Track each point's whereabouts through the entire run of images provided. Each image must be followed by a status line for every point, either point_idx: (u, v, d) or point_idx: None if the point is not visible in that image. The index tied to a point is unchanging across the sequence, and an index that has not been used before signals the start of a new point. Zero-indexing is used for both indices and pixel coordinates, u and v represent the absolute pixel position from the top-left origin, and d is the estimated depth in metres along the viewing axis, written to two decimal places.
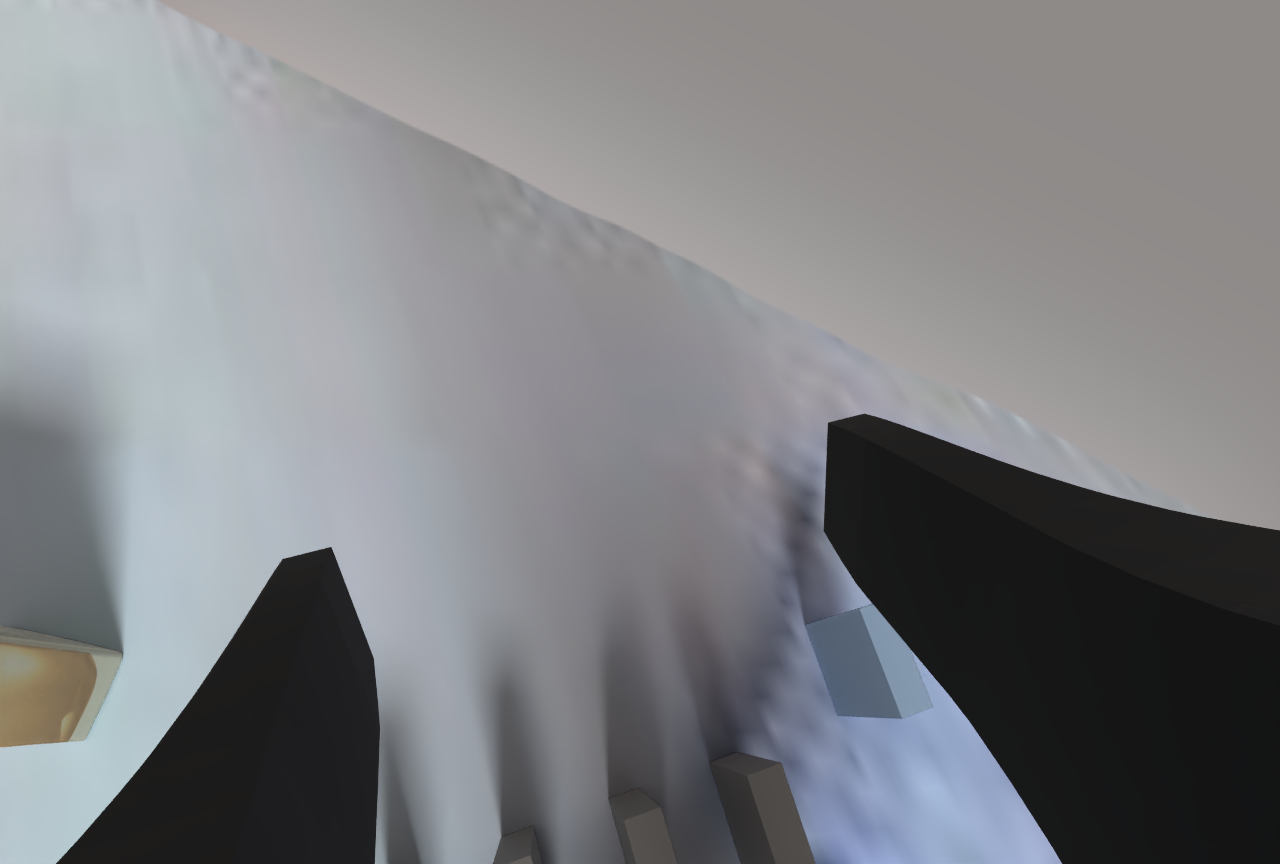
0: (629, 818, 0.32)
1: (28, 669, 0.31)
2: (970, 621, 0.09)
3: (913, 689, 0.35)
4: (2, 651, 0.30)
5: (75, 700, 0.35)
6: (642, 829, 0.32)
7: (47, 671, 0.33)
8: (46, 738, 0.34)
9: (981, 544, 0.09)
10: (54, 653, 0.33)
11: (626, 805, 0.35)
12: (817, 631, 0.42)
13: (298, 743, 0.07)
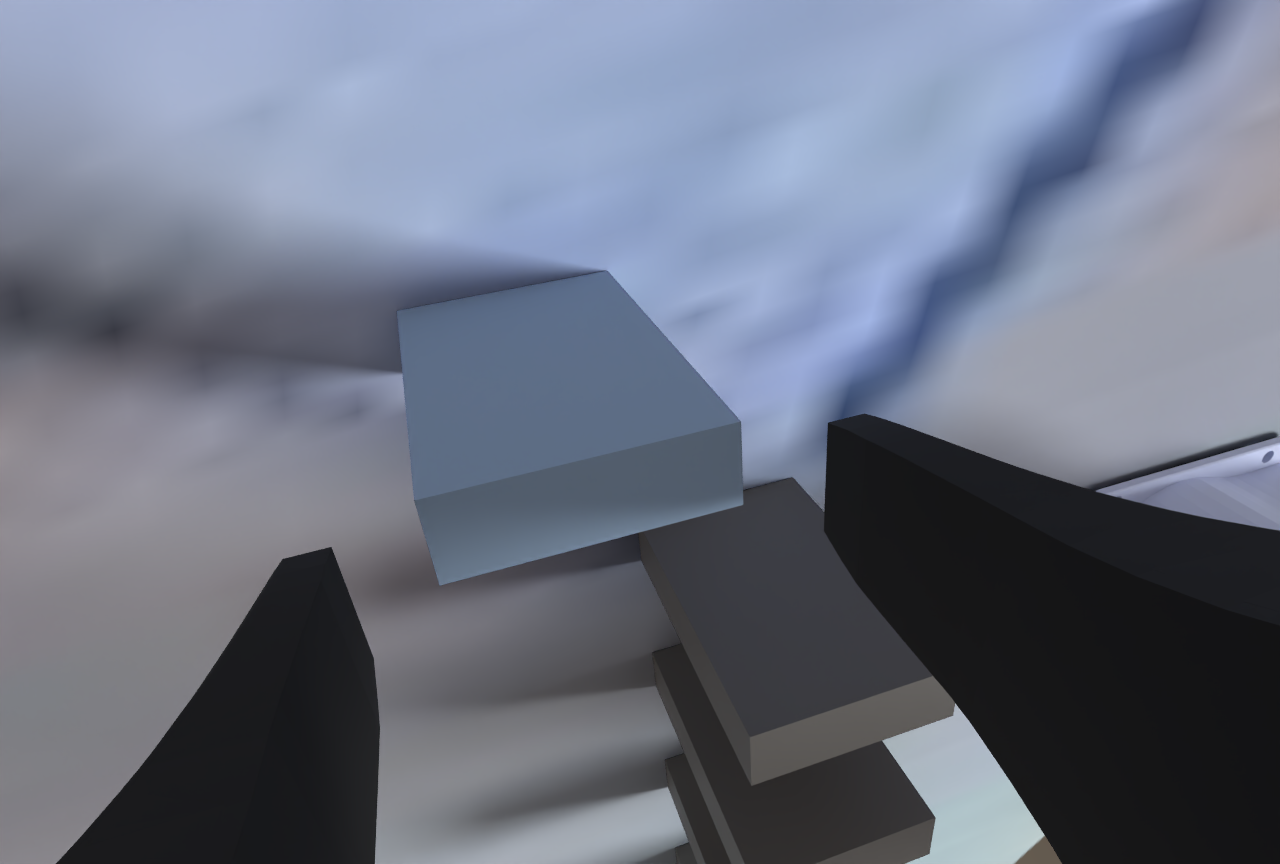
0: None
1: None
2: (970, 621, 0.09)
3: (684, 466, 0.12)
4: None
5: None
6: None
7: None
8: None
9: (981, 544, 0.09)
10: None
11: (702, 787, 0.22)
12: None
13: (299, 743, 0.07)
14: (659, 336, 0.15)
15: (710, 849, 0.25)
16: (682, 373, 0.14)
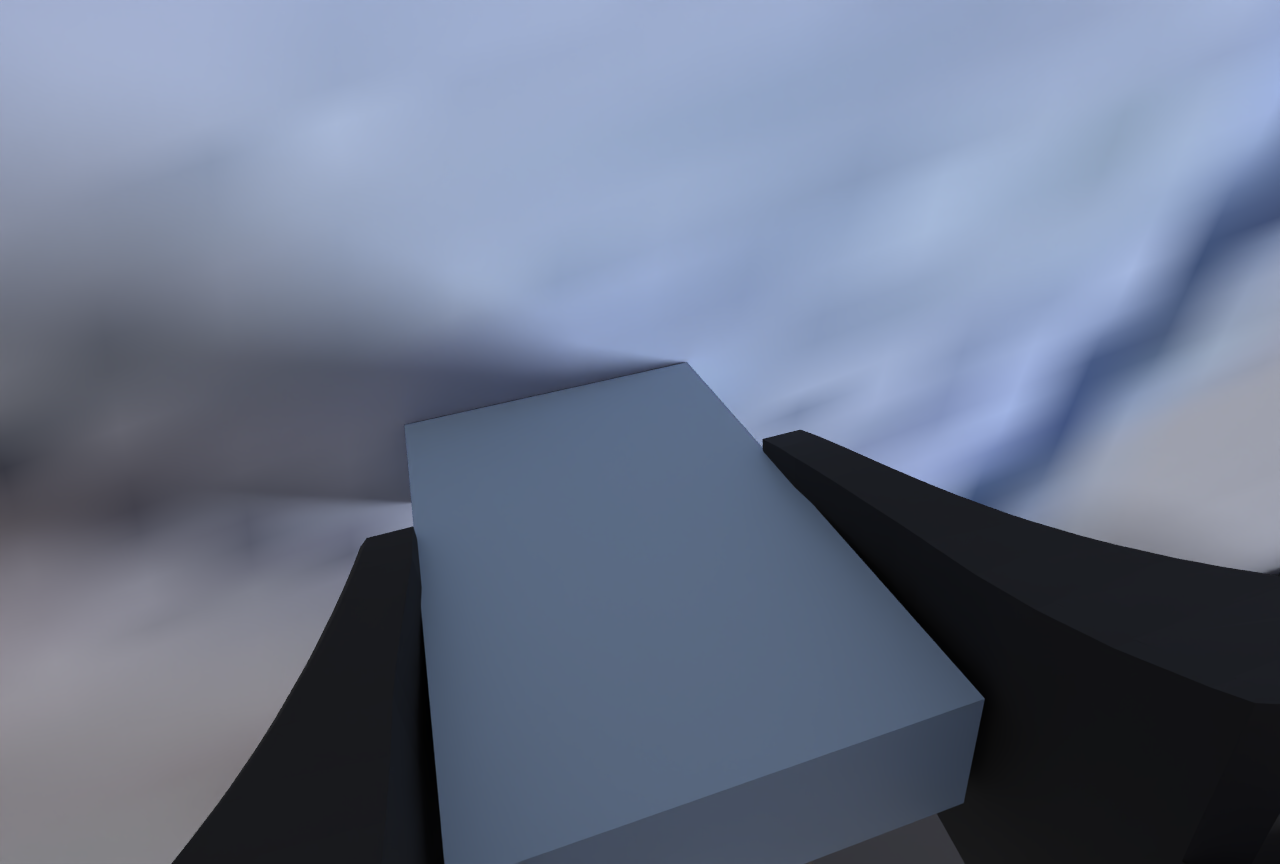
0: None
1: None
2: None
3: (887, 769, 0.07)
4: None
5: None
6: None
7: None
8: None
9: (900, 568, 0.08)
10: None
11: None
12: None
13: (410, 709, 0.07)
14: (792, 491, 0.10)
15: None
16: (849, 574, 0.09)
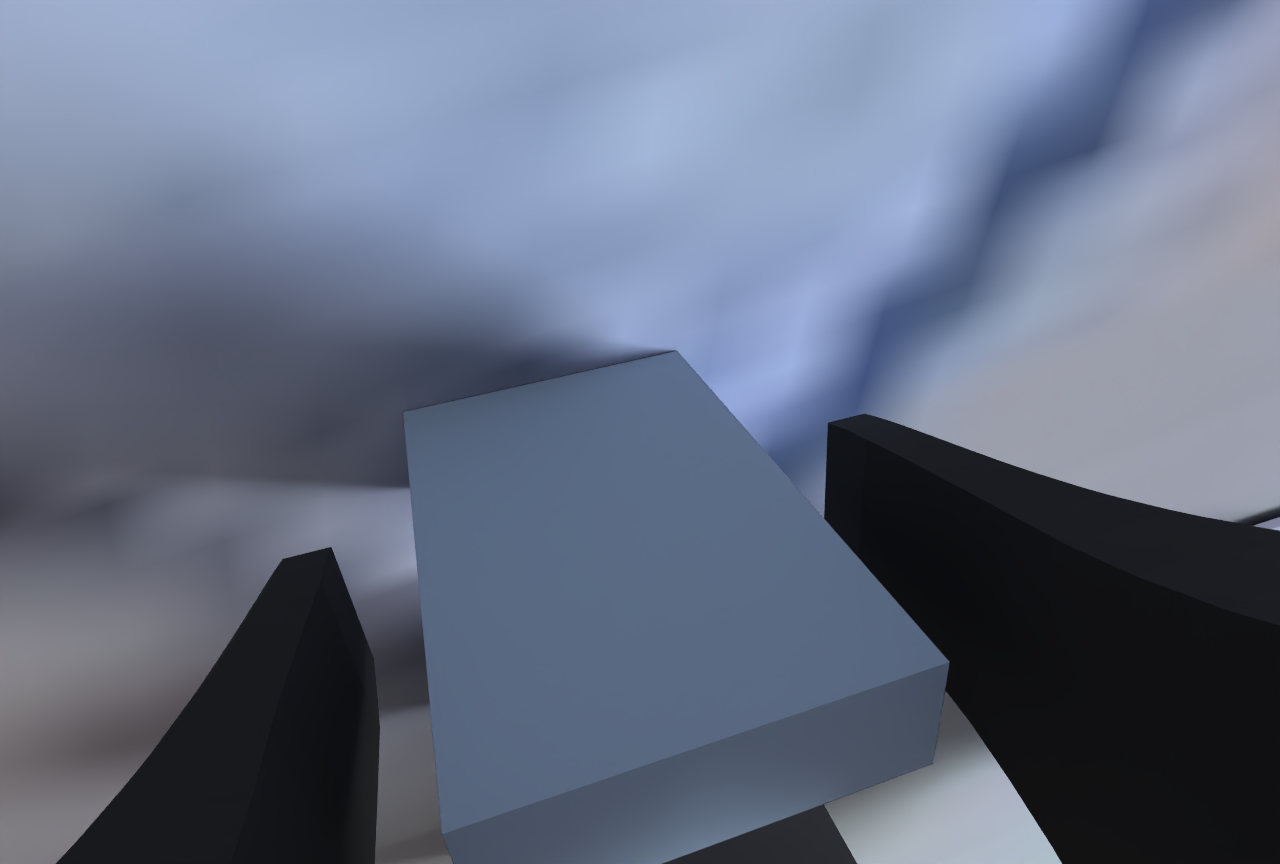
0: None
1: None
2: (970, 621, 0.09)
3: (859, 729, 0.08)
4: None
5: None
6: None
7: None
8: None
9: (981, 544, 0.09)
10: None
11: None
12: None
13: (298, 743, 0.07)
14: (774, 472, 0.11)
15: None
16: (827, 549, 0.09)
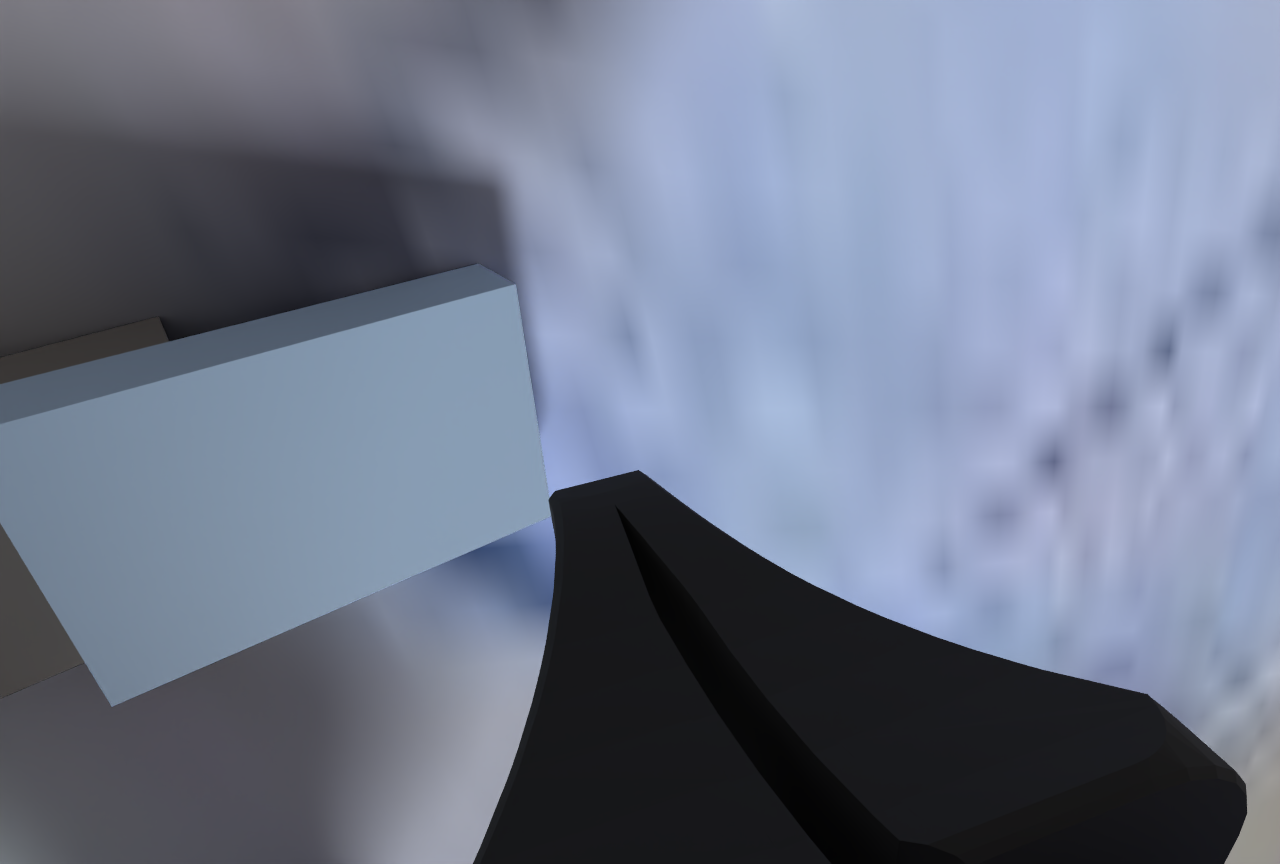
0: None
1: None
2: None
3: None
4: None
5: None
6: None
7: None
8: None
9: (690, 632, 0.08)
10: None
11: None
12: None
13: None
14: (341, 602, 0.14)
15: None
16: (238, 639, 0.13)
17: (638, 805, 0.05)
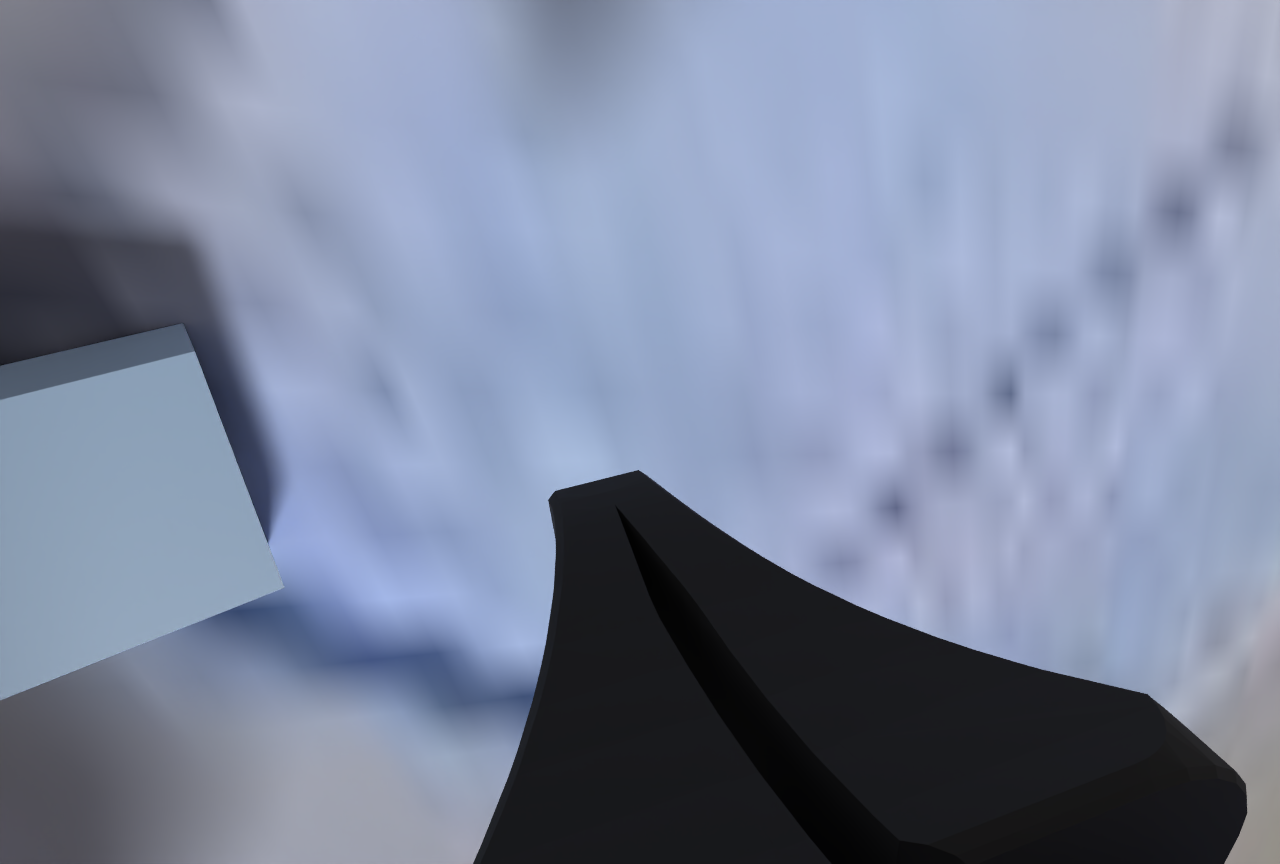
0: None
1: None
2: None
3: None
4: None
5: None
6: None
7: None
8: None
9: (690, 631, 0.08)
10: None
11: None
12: None
13: None
14: (15, 688, 0.13)
15: None
16: None
17: (638, 805, 0.05)
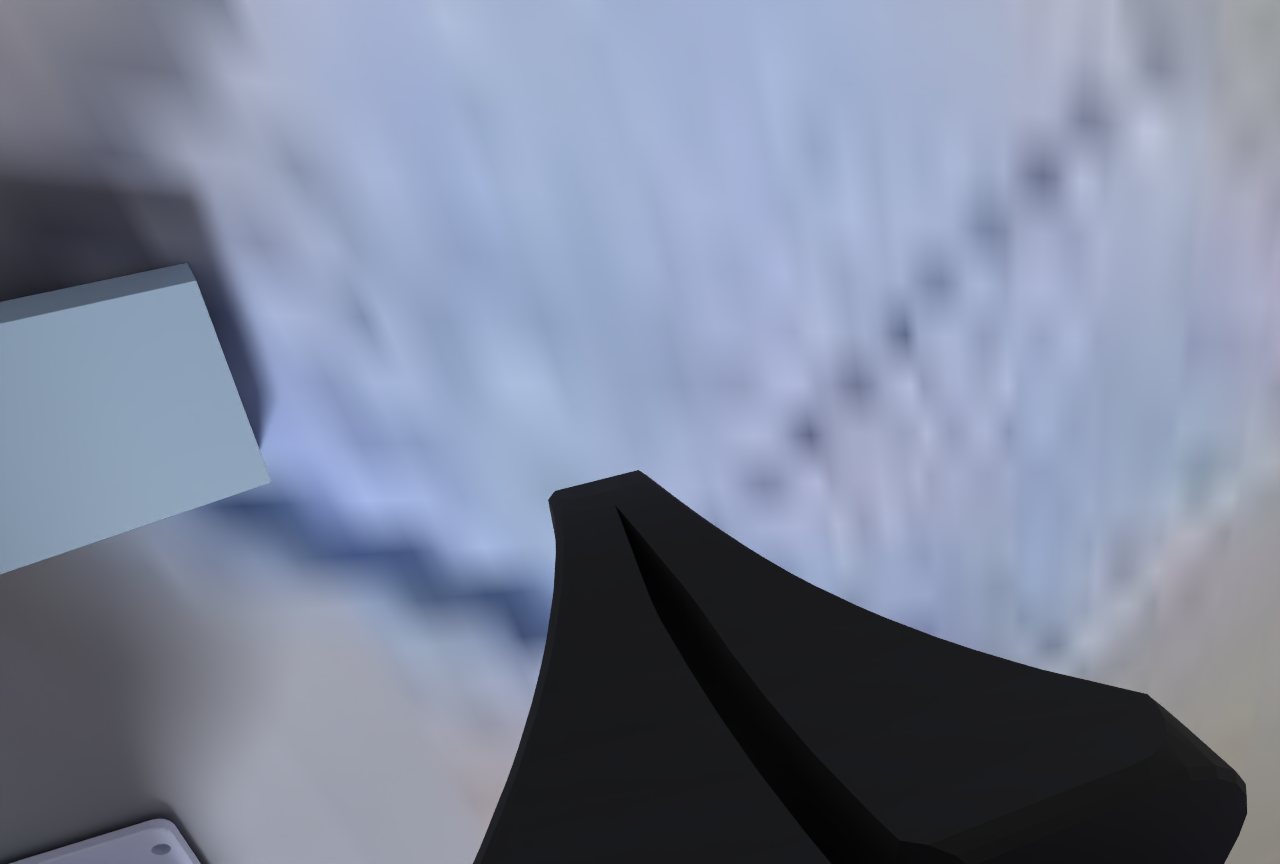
0: None
1: None
2: None
3: None
4: None
5: None
6: None
7: None
8: None
9: (689, 632, 0.08)
10: None
11: None
12: None
13: None
14: (58, 550, 0.16)
15: None
16: None
17: (638, 805, 0.05)
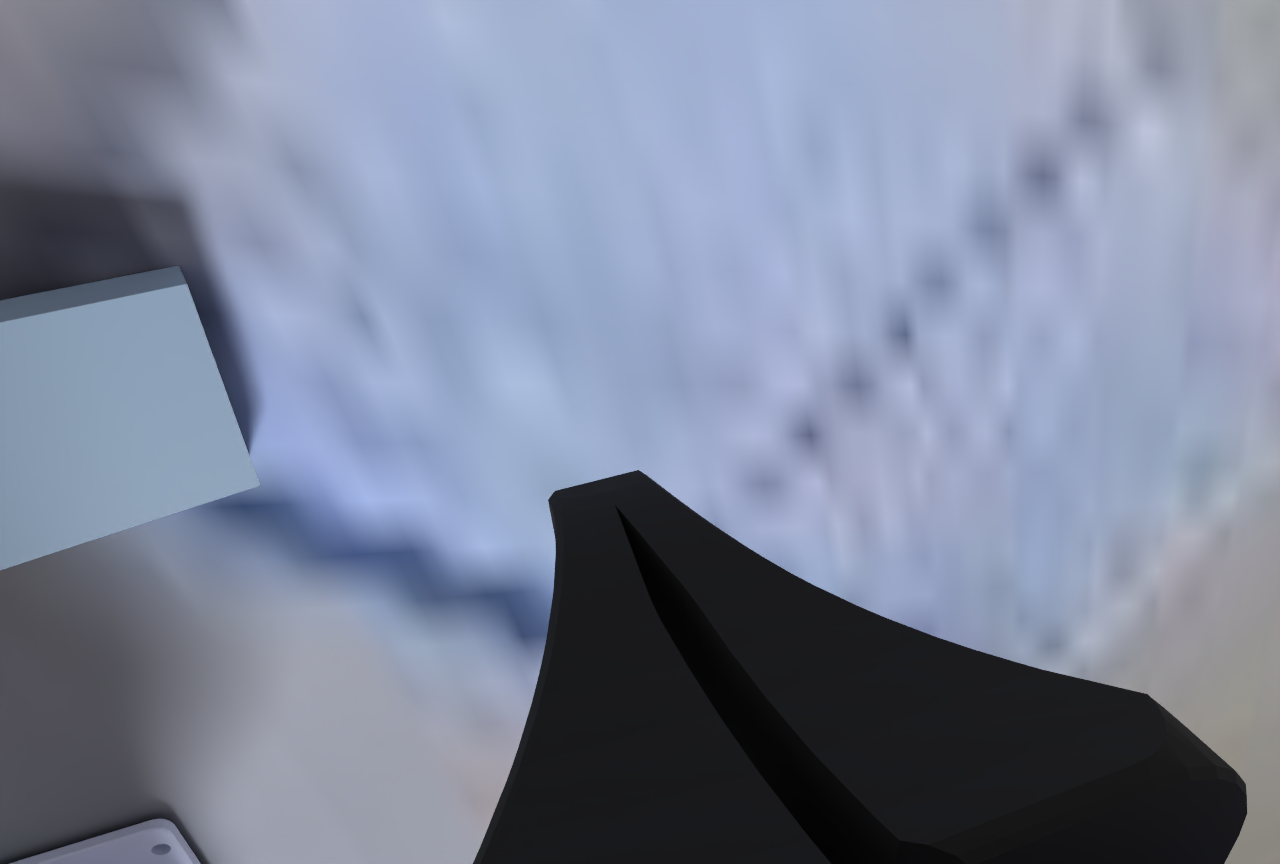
0: None
1: None
2: None
3: None
4: None
5: None
6: None
7: None
8: None
9: (689, 632, 0.08)
10: None
11: None
12: None
13: None
14: (44, 551, 0.16)
15: None
16: None
17: (638, 805, 0.05)
